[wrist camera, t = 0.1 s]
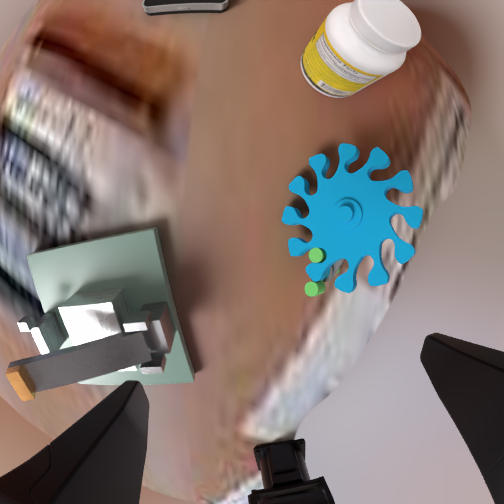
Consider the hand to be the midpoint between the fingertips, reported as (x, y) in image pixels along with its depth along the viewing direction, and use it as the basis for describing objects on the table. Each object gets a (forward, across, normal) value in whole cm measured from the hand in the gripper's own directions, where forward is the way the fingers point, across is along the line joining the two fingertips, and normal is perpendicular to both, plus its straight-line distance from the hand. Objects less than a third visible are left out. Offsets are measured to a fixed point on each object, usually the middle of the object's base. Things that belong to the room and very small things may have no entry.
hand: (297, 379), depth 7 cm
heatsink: (+13, +13, +5) cm, 19 cm away
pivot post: (+15, +8, +5) cm, 17 cm away
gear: (+15, -6, -2) cm, 16 cm away
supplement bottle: (+15, -8, -14) cm, 22 cm away
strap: (+8, +13, +5) cm, 16 cm away
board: (+15, +13, +5) cm, 20 cm away
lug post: (+15, +19, +5) cm, 24 cm away
